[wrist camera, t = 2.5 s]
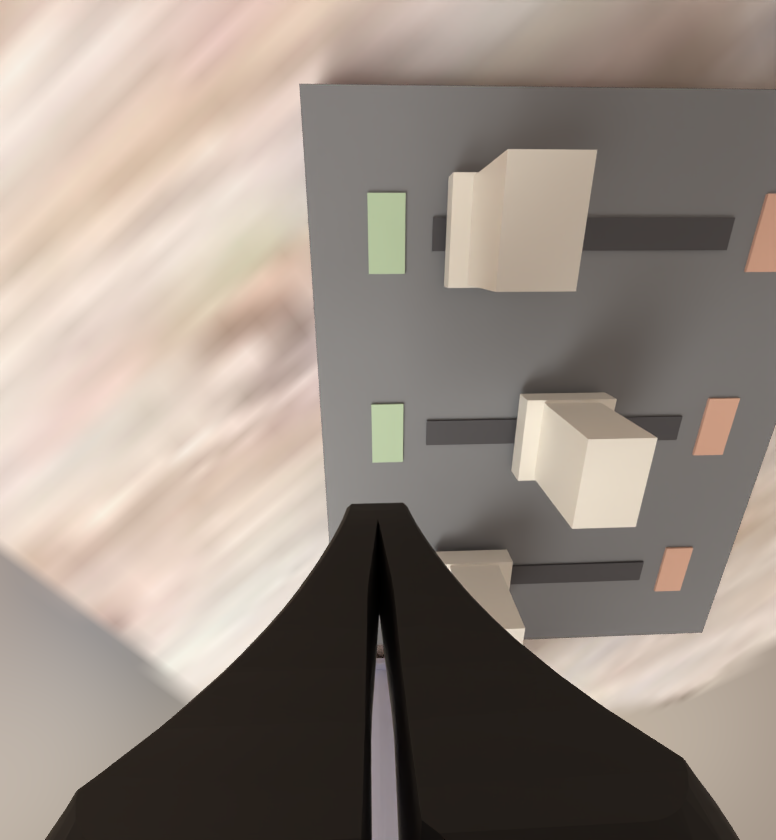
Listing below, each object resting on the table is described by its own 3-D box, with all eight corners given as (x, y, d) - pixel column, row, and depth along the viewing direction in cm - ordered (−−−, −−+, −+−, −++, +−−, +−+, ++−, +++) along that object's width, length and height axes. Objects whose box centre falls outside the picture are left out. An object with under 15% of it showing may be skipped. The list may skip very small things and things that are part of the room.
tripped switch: (590, 469, 17) (653, 529, 13) (511, 470, 17) (552, 532, 13) (605, 392, 16) (679, 434, 12) (520, 393, 15) (568, 436, 12)
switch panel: (674, 601, 23) (703, 634, 21) (338, 613, 22) (335, 648, 20) (826, 112, 15) (896, 89, 13) (308, 107, 14) (298, 82, 12)
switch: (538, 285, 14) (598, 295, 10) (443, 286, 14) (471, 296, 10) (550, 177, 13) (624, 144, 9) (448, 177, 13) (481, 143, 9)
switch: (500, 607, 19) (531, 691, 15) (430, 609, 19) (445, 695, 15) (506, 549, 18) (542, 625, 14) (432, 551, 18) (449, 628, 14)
